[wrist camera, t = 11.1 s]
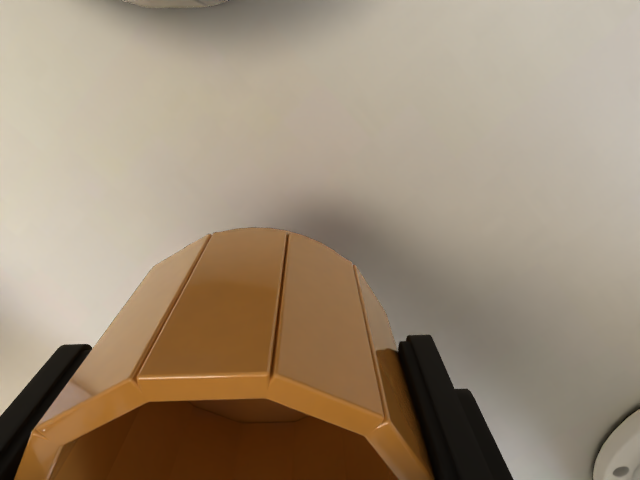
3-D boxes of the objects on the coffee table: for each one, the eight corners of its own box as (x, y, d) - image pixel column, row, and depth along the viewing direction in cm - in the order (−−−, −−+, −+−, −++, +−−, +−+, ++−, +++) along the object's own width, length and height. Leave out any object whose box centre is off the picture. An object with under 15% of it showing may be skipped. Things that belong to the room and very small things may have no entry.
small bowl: (389, 219, 11) (462, 367, 6) (376, 416, 14) (416, 626, 9) (114, 225, 10) (-64, 383, 5) (163, 423, 13) (77, 640, 8)
